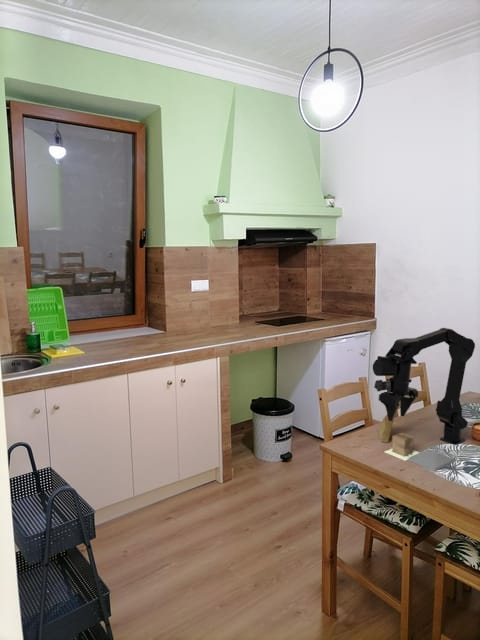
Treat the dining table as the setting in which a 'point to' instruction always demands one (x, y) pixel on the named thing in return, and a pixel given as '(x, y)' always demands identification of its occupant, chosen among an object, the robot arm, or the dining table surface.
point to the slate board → (431, 460)
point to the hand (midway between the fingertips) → (396, 418)
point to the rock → (385, 429)
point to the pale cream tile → (400, 455)
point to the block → (402, 444)
